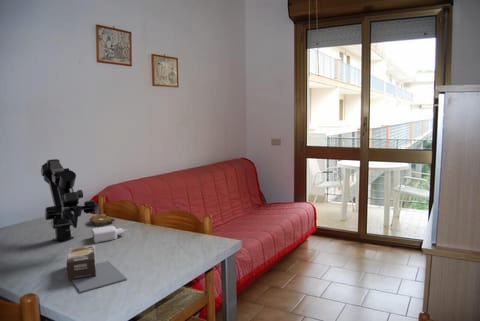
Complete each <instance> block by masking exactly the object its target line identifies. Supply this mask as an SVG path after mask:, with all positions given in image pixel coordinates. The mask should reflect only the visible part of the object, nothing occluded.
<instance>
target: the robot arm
mask: <svg viewBox="0 0 480 321" xmlns="http://www.w3.org/2000/svg"><path fill="white" fill-rule="evenodd" d="M40 173H41V177H43V181H44V182H45V183H47V184H48V186H49V190H50V194H51V199H52V202H53V206H46V207H45V211H44V219H45V220H46V221H50V225H51V228H52V229H53V230H54V231H55V232H54V233H55V238H53V239H52V241H56V242H59V243H63V242H65V241H69V240H72V239H74V238H75V237H74V236H72V233H71V227H73V229H77V226H78V219H79V217H81V215H82V212H84V213H85V214H93V213H94V212H95V210H96V207H97V202H96V201H95V200H93V199H92V200H87V201H86V200H85V201H84V203H83V204H81V205H80V204H79V203H80V201H79V200H80V199H83V198H84V192H83V190H82V189H78V190H77V191H74V187H75V182H76V179H77V174H76V173H75V172H74V171H73V170H71V169H70V168H64V167H63V165H62V163H61V162H60V159H57V158H54V159H48V160H46V162H45V163H43V165H41V169H40Z"/></svg>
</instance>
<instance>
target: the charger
mask: <svg viewBox="0 0 480 321" xmlns="http://www.w3.org/2000/svg"><path fill="white" fill-rule="evenodd" d="M125 232H128V229H127V228H126V229H123V228H122V227H121V228H116V227H115V226H114V225H109V226H108V225H106V226H99V227H95V228H94V227H93V228H91V236H92V240H93V242H94V243H95V244H97V243H102V242H108V241H113V240H116V239H118V236H121V235H124V233H125Z"/></svg>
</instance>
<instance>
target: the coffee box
mask: <svg viewBox="0 0 480 321" xmlns="http://www.w3.org/2000/svg"><path fill="white" fill-rule="evenodd" d="M96 254H97V253H96V247H95V244H92V245H90V244H89V245H83V246H75V247H69V248H68V253H67V259H66V271H67V273H66V275H67V281H72V280H75V279H81V278H87V277H94V276H96V264H97V255H96Z"/></svg>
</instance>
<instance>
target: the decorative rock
mask: <svg viewBox="0 0 480 321" xmlns="http://www.w3.org/2000/svg"><path fill="white" fill-rule="evenodd" d="M88 220H89V222H91V223H92V224H94V226H96V227H106V226H108V225H110V224H111V223H112V222H114V221H115V218H113V217H112V216H109V215H106V213H100V214H95V215H92V216H91V217H90V218H89V219H88Z"/></svg>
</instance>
